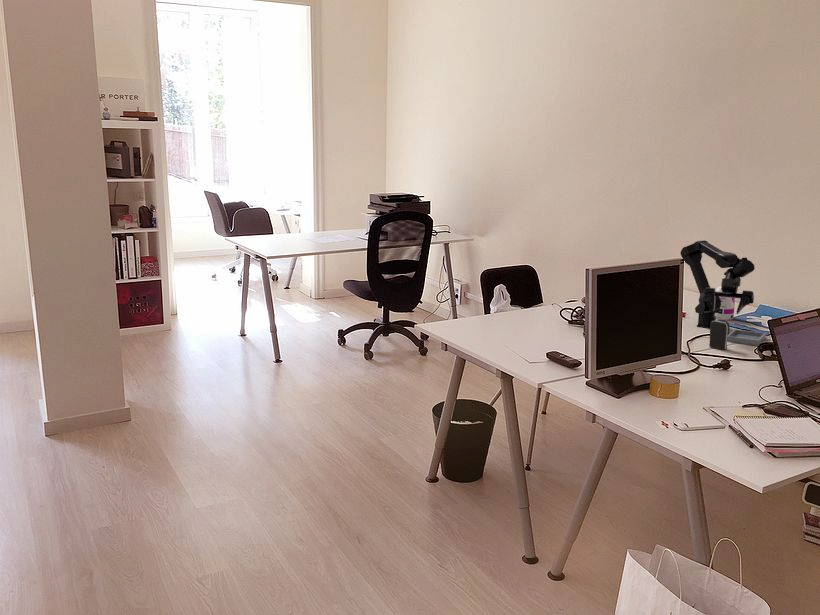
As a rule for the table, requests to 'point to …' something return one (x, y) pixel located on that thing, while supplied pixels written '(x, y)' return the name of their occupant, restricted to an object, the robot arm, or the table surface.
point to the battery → (719, 334)
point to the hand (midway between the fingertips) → (725, 312)
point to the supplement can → (725, 307)
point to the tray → (746, 337)
